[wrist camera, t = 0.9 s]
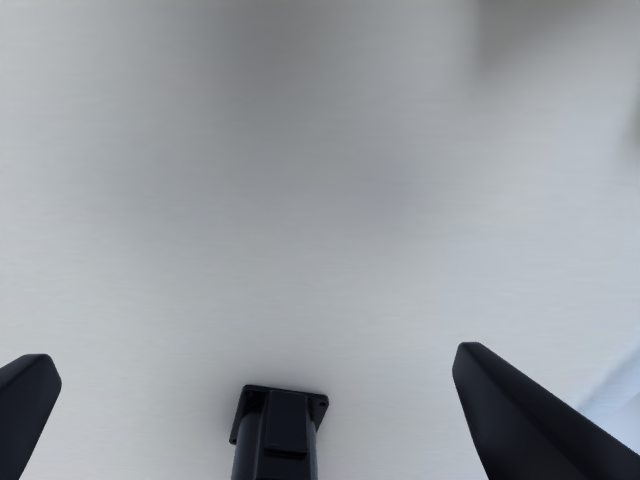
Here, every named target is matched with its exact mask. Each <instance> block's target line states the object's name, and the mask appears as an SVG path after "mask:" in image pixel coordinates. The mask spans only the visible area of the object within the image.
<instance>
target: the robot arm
mask: <svg viewBox="0 0 640 480" xmlns="http://www.w3.org/2000/svg"><path fill="white" fill-rule="evenodd" d="M452 375H453V379H454V383H455V386H456V389H457V392H458V395H459V398H460V402H461V405H462V408H463V411H464V414H465V417H466V421H467V424H468V427H469V430H470V433H471V436H472V439H473V442H474V445H475V448H476V450H477V453H478V455H479V458H480V460H481V462H482V465H483V467H484V469H485V472H486V474H487V476H488V479H489V480H640V455H638V454H637V453H635V452H634V451H632V450H631V449H630V448H628V447H627V446H625V445H624V444H622V443H621V442H620V441H618V440H617V439H615V438H614V437H613V436H611V435H610V434H608V433H607V432H606V431H604V430H603V429H601V428H600V427H599V426H597V425H596V424H594V423H593V422H591V421H590V420H589V419H587V418H586V417H584V416H583V415H582V414H580V413H579V412H577V411H576V410H574V409H573V408H572V407H570V406H569V405H567V404H566V403H565V402H563V401H562V400H560V399H559V398H557V397H556V396H555V395H553V394H552V393H550V392H549V391H548V390H546V389H545V388H543V387H542V386H540V385H539V384H538V383H536V382H535V381H533V380H532V379H531V378H529V377H528V376H526V375H525V374H524V373H522V372H521V371H519V370H518V369H516V368H515V367H514V366H512V365H511V364H509V363H508V362H507V361H505V360H504V359H502V358H501V357H499V356H498V355H497V354H495V353H494V352H492V351H491V350H490V349H488V348H487V347H485V346H484V345H482V344H481V343H479V342H462V343H460V345H459V346H458V349H457V353H456V356H455V360H454V364H453V368H452ZM61 385H62V383H61V378H60V376H59V374H58V372H57V369H56V367H55V365H54V363H53V360H52V358H51V357H50V356H49V355H47V354H27V355H23V356H21V357H19V358H18V359H16V360H14V361H12V362H11V363H9V364H7V365H5V366H4V367H2V368H0V480H19V478H20V476H21V475H22V473H23V471H24V469H25V467H26V465H27V463H28V461H29V459H30V457H31V455H32V453H33V451H34V448H35V446H36V444H37V442H38V440H39V437H40V435H41V433H42V431H43V429H44V426H45V424H46V422H47V420H48V418H49V415H50V413H51V411H52V409H53V407H54V404H55V402H56V400H57V398H58V396H59V393H60V391H61ZM328 405H329V399H328V397H327V396H325V395H320V394H312V393H305V392H298V391H291V390H284V389H277V388H270V387H263V386H256V385H245V386H244V387H243V388H242V392H241V396H240V399H239V403H238V407H237V411H236V415H235V419H234V422H233V426H232V430H231V434H230V439H229V442H230V443H231V444H233V445H236V450H235V456H234V463H233V469H232V475H231V480H318V469H317V450H316V433H317V431H318V428H319V426H320V424H321V421H322V419H323V417H324V415H325V412H326V410H327V408H328Z"/></svg>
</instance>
